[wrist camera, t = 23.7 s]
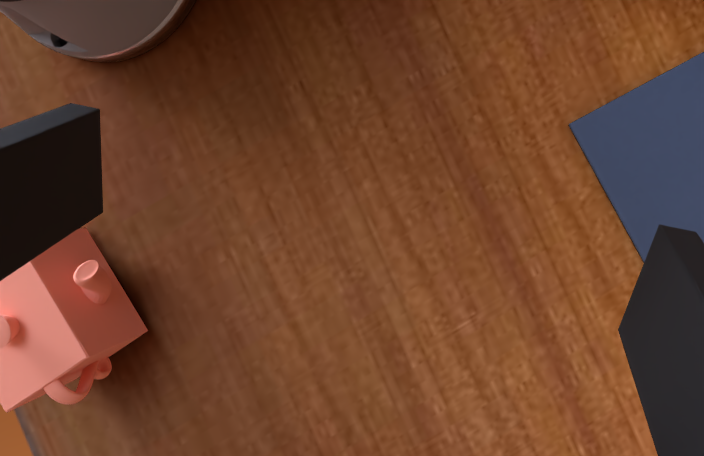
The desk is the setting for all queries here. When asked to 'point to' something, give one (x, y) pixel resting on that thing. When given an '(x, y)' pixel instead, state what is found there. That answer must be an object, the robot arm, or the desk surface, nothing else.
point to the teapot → (62, 323)
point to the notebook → (651, 153)
